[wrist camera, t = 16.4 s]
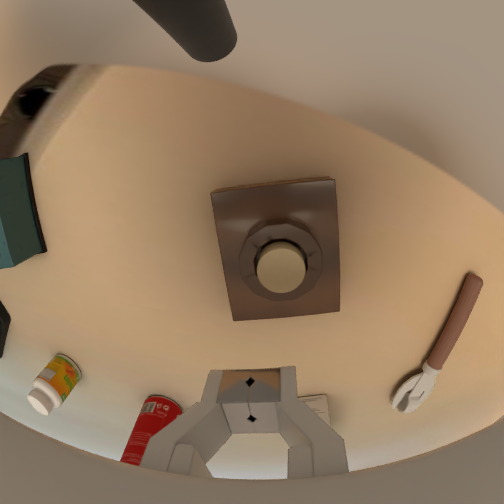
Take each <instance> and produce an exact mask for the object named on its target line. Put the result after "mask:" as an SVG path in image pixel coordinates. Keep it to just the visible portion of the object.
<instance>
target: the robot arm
mask: <svg viewBox="0 0 504 504" xmlns="http://www.w3.org/2000/svg"><path fill="white" fill-rule="evenodd" d="M238 433H280V435H281V436H282V437H283V439H284V440H285V441H286V443H287V444H288V445H289V447H290V448H289V449H288V476H287V479H268V480H249V479H224V478H213V476H212V475H211V473H210V471H209V470H208V468H207V467H206V465H205V464H206V463H207V462H208V461H209V460H210V459H211V458H212V457H213V456H214V454H215V453H216V452H217V451H218V450H219V449H220V448H221V447H222V445H223V444H224V443H225V442H226V441H227V440H228V439H229V437H230V436H231V435H232V434H238ZM0 504H504V418H503V419H501V420H499V421H497V422H495V423H494V424H492V425H490V426H488V427H486V428H484V429H482V430H480V431H478V432H475V433H473V434H471V435H469V436H467V437H464V438H462V439H460V440H457V441H455V442H453V443H450V444H448V445H445V446H442V447H440V448H437V449H434V450H432V451H429V452H426V453H423V454H420V455H417V456H413V457H410V458H407V459H403V460H400V461H396V462H392V463H389V464H385V465H380V466H376V467H372V468H367V469H362V470H357V471H351V472H349V470H348V463H347V456H346V450H345V444H344V439H343V438H342V437H341V436H340V435H338V434H337V433H336V432H335V431H334V430H333V429H332V428H331V427H330V426H329V425H328V424H327V423H326V422H325V421H323V420H322V419H321V418H320V417H319V416H318V415H317V414H316V413H315V412H314V411H313V410H312V409H311V408H310V407H309V406H308V405H307V404H306V403H305V402H304V401H303V400H298V397H297V381H296V367H295V366H288V367H278V368H265V369H248V370H211V371H210V372H209V374H208V378H207V381H206V385H205V388H204V391H203V395H202V398H201V402H196V403H195V404H194V405H192V406H191V407H190V408H189V409H187V410H186V411H185V412H184V413H182V414H181V415H180V416H179V417H177V418H176V419H175V420H173V421H172V422H171V423H170V424H168V425H167V426H166V427H164V428H163V429H162V430H160V431H159V432H158V433H156V434H155V435H154V436H152V437H151V438H150V439H149V442H148V444H147V447H146V450H145V452H144V455H143V457H142V460H141V462H140V465H139V466H136V465H132V464H128V463H124V462H120V461H116V460H113V459H109V458H106V457H103V456H99V455H96V454H93V453H90V452H87V451H84V450H81V449H79V448H76V447H73V446H71V445H68V444H66V443H63V442H61V441H58V440H56V439H53V438H51V437H49V436H47V435H44V434H42V433H40V432H38V431H36V430H34V429H32V428H30V427H28V426H26V425H24V424H22V423H20V422H18V421H16V420H14V419H12V418H11V417H9V416H7V415H5V414H4V413H2V412H0Z"/></svg>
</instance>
